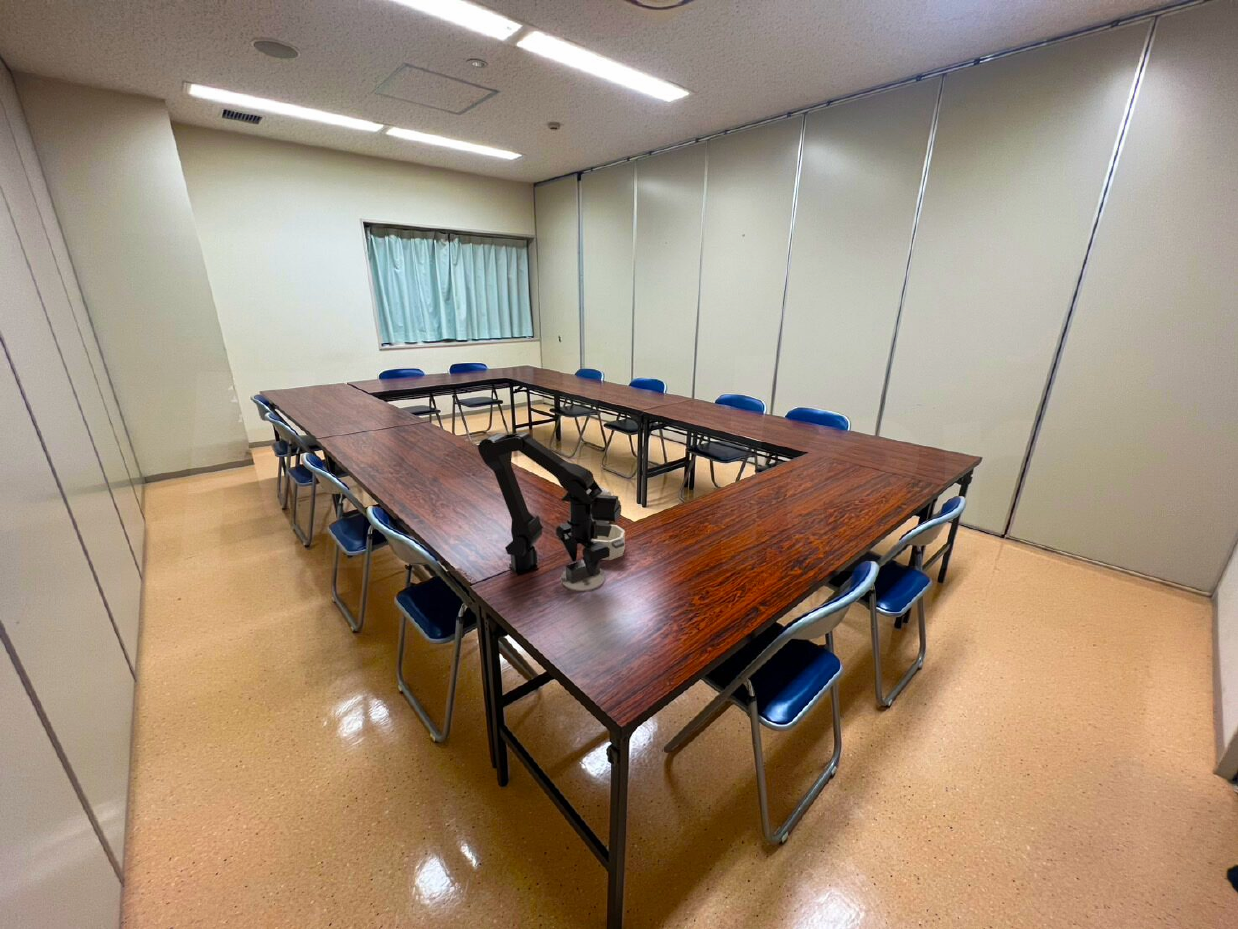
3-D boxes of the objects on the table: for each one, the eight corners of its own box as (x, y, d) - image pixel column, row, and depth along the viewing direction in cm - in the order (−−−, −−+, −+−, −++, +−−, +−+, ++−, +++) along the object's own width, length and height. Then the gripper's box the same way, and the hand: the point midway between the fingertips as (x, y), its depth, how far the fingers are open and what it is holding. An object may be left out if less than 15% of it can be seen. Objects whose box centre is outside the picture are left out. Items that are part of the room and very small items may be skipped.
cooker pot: (604, 566, 136) (604, 548, 134) (577, 545, 147) (577, 528, 145) (635, 555, 142) (635, 537, 140) (607, 535, 153) (606, 519, 151)
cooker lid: (575, 597, 122) (574, 580, 121) (553, 576, 132) (552, 560, 130) (613, 581, 129) (613, 566, 127) (590, 562, 138) (589, 547, 136)
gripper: (627, 521, 121) (626, 574, 126) (588, 497, 135) (589, 546, 141) (590, 533, 115) (591, 588, 120) (553, 507, 129) (556, 557, 135)
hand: (582, 568), depth 129 cm, fingers open, 9 cm apart
